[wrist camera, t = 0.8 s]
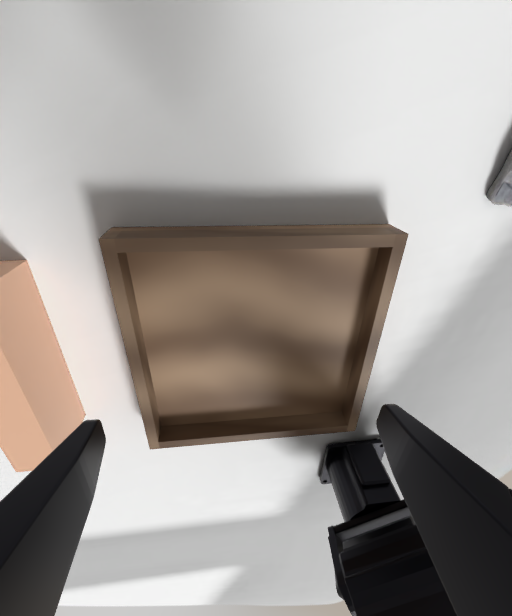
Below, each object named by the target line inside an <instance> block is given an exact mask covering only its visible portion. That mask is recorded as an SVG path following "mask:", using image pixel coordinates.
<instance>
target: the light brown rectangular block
mask: <svg viewBox="0 0 512 616" xmlns="http://www.w3.org/2000/svg"><path fill="white" fill-rule="evenodd" d="M85 415H86V414H85V411H84V409H83V406H82V404H81V401H80V398H79V396H78V393H77V390H76V388H75V385H74V383H73V380H72V377H71V375H70V372H69V369H68V367H67V364H66V362H65V359H64V356H63V354H62V351H61V348H60V346H59V343H58V341H57V338H56V335H55V333H54V330H53V327H52V325H51V322H50V320H49V317H48V314H47V312H46V309H45V306H44V304H43V301H42V299H41V296H40V293H39V291H38V288H37V285H36V283H35V280H34V278H33V275H32V272H31V270H30V267H29V264H28V262H27V260H9V261H0V447H1V449H2V450H3V452H4V454H5V455H6V457H7V458H8V460H9V461H10V463H11V465H12V466H13V468H14V469H15V471H16V472H23V471H33V470H34V469H35V468H36V467H37V466H38V465H39V464H40V463H41V462H42V461H43V460H44V459H45V458H46V457H47V456H48V455H49V454H50V453H51V452H52V451H53V450H54V449H55V448H56V447H57V446H58V445H60V444H61V443H62V442H63V441H64V440H65V439H66V438H67V437H68V436H69V435H70V434H71V433H72V432H73V431H74V430H75V429H76V428H77V427H78V426H79V425H80V424H81V423H82V422H83V420H84V417H85Z"/></svg>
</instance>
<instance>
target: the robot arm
mask: <svg viewBox="0 0 512 616" xmlns="http://www.w3.org/2000/svg"><path fill="white" fill-rule="evenodd" d="M377 429H378V432H379V435H380V438H381V439H380V440H369V441H359V442H348V443H337V444H330V445H328V446H327V447H326V451H325V456H324V461H323V466H322V470H321V475H320V481H321V483H322V484H329V483H332V486H333V489H334V492H335V495H336V498H337V501H338V504H339V507H340V510H341V513H342V516H343V519H344V523H341V524H339V525H336V526H330V527H328V532H329V537H328V539H329V543H330V548H331V553H332V558H333V564H334V569H335V579H336V589H337V593H338V595H339V596H340V597H341V598H342V599H343V600H345V602H346V604H347V607H348V609H349V611H350V613H351V614H352V616H512V490H511V489H509V488H508V487H507V486H506V485H505V484H503V483H502V482H501V481H499V480H498V479H497V478H495V477H494V476H493V475H491V474H490V473H489V472H487V471H486V470H484V469H483V468H482V467H480V466H479V465H478V464H476V463H475V462H474V461H472V460H471V459H470V458H468V457H467V456H465V455H464V454H463V453H461V452H460V451H459V450H457V449H456V448H455V447H453V446H452V445H451V444H449V443H448V442H446V441H445V440H444V439H442V438H441V437H440V436H438V435H437V434H436V433H434V432H433V431H432V430H430V429H429V428H428V427H426V426H425V425H423V424H422V423H421V422H419V421H418V420H417V419H415V418H414V417H413V416H411V415H410V414H409V413H407V412H406V411H404V410H403V409H402V408H400V407H399V406H398V405H396V404H385V405H383V406H382V408H381V410H380V413H379V416H378V419H377ZM105 443H106V438H105V434H104V430H103V427H102V423H101V421H100V420H86V421H84V422H82V423H81V424H80V425H79V426H78V427H77V428H76V429H75V430H74V431H73V432H72V433H71V434H70V435H69V436H68V437H67V438H66V439H65V440H64V441H63V442H62V443H61V444H60V445H58V446H57V447H56V448H55V449H54V450H53V451H52V452H51V453H50V454H49V455H48V456H47V457H46V458H45V459H44V460H43V461H42V462H41V463H40V464H39V465H38V466H37V467H36V468H35V469H34V470H33V471H32V472H30V473H29V474H28V475H27V476H26V477H25V478H24V479H23V480H22V481H21V482H20V483H19V484H18V485H17V486H16V487H15V488H14V489H13V490H12V491H11V492H10V493H9V494H8V495H7V496H6V497H5V498H4V499H2V500H1V501H0V616H54V615H55V612H56V609H57V606H58V603H59V600H60V597H61V594H62V591H63V588H64V585H65V582H66V579H67V576H68V573H69V570H70V567H71V564H72V561H73V558H74V555H75V552H76V549H77V546H78V543H79V540H80V537H81V534H82V531H83V528H84V525H85V522H86V519H87V516H88V513H89V510H90V507H91V504H92V501H93V497H94V493H95V489H96V485H97V480H98V476H99V471H100V466H101V462H102V457H103V453H104V448H105ZM384 451H385V453H386V456H387V458H388V461H389V464H390V467H391V470H392V473H393V475H394V477H395V480H396V482H397V484H398V486H399V489H400V491H401V493H402V495H403V497H404V500H400V498H399V496H398V494H397V492H396V490H395V488H394V486H393V484H392V482H391V480H390V477H389V475H388V473H387V471H386V469H385V467H384V465H383V464H382V462H381V460H382V457H383V454H384Z"/></svg>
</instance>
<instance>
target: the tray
mask: <svg viewBox="0 0 512 616" xmlns="http://www.w3.org/2000/svg"><path fill="white" fill-rule="evenodd" d="M407 238H408V234H407V233H405V232H403V231H401V230H399V229H397V228H395V227H394V226H392V225H390V224H359V225H273V226H188V227H112V228H110V229H109V230H108V231H107V232H106V233H105V234H104V235H103V236H101V237H100V238H99V243H100V247H101V251H102V255H103V259H104V263H105V267H106V271H107V275H108V279H109V283H110V288H111V292H112V296H113V300H114V304H115V308H116V312H117V316H118V320H119V324H120V329H121V333H122V337H123V341H124V345H125V349H126V353H127V357H128V361H129V365H130V369H131V374H132V378H133V382H134V386H135V390H136V394H137V398H138V402H139V406H140V410H141V415H142V419H143V423H144V427H145V431H146V435H147V439H148V443H149V447H150V449H159V448H170V447H181V446H192V445H204V444H215V443H226V442H237V441H248V440H259V439H270V438H281V437H293V436H304V435H315V434H326V433H337V432H348V431H355V429H356V426H357V422H358V418H359V415H360V411H361V407H362V403H363V400H364V396H365V392H366V389H367V385H368V381H369V378H370V374H371V370H372V367H373V363H374V359H375V356H376V352H377V348H378V345H379V341H380V337H381V333H382V330H383V326H384V322H385V319H386V315H387V311H388V308H389V304H390V300H391V297H392V293H393V289H394V286H395V282H396V278H397V274H398V271H399V267H400V263H401V260H402V256H403V252H404V249H405V245H406V241H407Z"/></svg>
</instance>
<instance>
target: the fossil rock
mask: <svg viewBox="0 0 512 616" xmlns="http://www.w3.org/2000/svg"><path fill="white" fill-rule="evenodd" d="M487 198H488V199H489V200H490V201H491V202H492V203H494V204H496V205H506V206H512V150H511V152H510V154H509V156H508V157H507V159H506V161H505V163H504V165H503V167H502V169H501V171H500V173H499V174H498V176H497V178H496V179H495V181H494V182H493V184H492V185H491V187H490V188H489V190H488V193H487Z"/></svg>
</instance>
